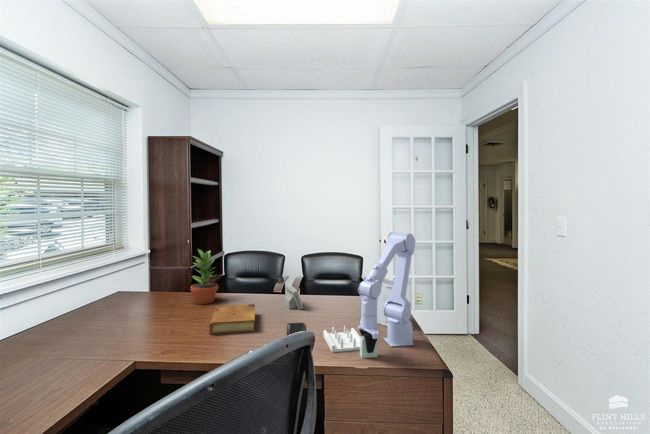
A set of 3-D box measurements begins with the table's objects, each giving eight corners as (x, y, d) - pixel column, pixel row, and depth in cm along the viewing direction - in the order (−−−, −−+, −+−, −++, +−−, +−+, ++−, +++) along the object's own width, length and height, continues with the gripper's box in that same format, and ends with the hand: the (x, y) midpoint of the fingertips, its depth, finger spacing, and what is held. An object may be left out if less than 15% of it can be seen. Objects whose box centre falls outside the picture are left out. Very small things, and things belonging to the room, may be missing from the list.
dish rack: (353, 333, 141) (353, 324, 141) (365, 349, 126) (365, 339, 125) (323, 336, 138) (323, 326, 138) (332, 352, 123) (332, 341, 123)
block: (375, 353, 122) (375, 335, 122) (377, 356, 120) (377, 337, 120) (359, 355, 121) (359, 336, 121) (361, 358, 119) (362, 338, 118)
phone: (286, 336, 136) (287, 322, 151) (286, 338, 136) (287, 325, 151) (305, 335, 137) (304, 322, 152) (305, 338, 137) (304, 324, 152)
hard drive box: (403, 324, 152) (404, 281, 151) (394, 329, 147) (395, 284, 146) (375, 316, 163) (376, 276, 162) (366, 320, 157) (366, 279, 156)
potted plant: (214, 305, 179) (213, 250, 178) (186, 305, 179) (185, 250, 178) (222, 297, 194) (222, 246, 192) (197, 297, 194) (196, 246, 193)
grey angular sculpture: (303, 310, 172) (303, 290, 171) (286, 311, 170) (286, 291, 169) (299, 301, 187) (299, 283, 187) (283, 302, 186) (283, 283, 185)
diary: (215, 317, 161) (215, 306, 161) (254, 315, 165) (254, 304, 165) (209, 335, 139) (209, 322, 139) (254, 332, 143) (254, 319, 142)
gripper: (352, 308, 126) (352, 343, 127) (365, 321, 112) (364, 360, 112) (370, 307, 128) (369, 341, 128) (384, 320, 113) (384, 358, 114)
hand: (368, 350), depth 120 cm, fingers closed on block, 2 cm apart
